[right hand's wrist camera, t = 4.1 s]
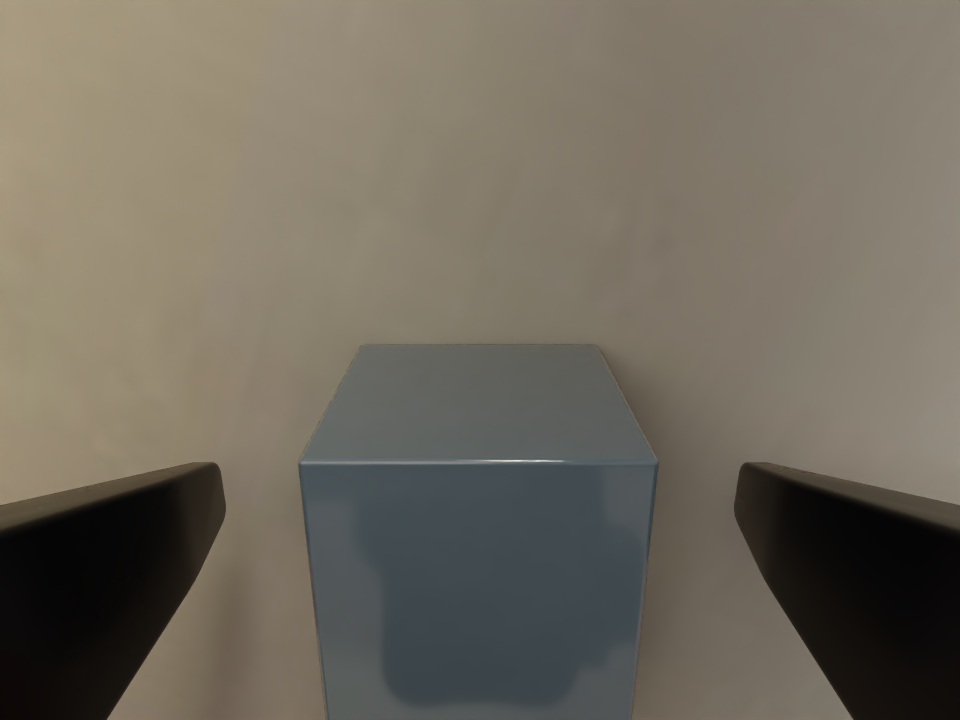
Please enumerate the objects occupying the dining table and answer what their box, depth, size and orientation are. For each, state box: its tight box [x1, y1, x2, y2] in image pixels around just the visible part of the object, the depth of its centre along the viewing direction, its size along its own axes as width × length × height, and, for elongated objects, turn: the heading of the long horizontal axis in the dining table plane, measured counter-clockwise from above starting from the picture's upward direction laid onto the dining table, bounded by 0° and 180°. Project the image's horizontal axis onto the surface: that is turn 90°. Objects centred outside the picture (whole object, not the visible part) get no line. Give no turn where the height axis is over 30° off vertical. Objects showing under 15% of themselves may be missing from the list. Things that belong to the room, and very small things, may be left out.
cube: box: [298, 345, 659, 720], centre depth 10 cm, size 4×4×4 cm
